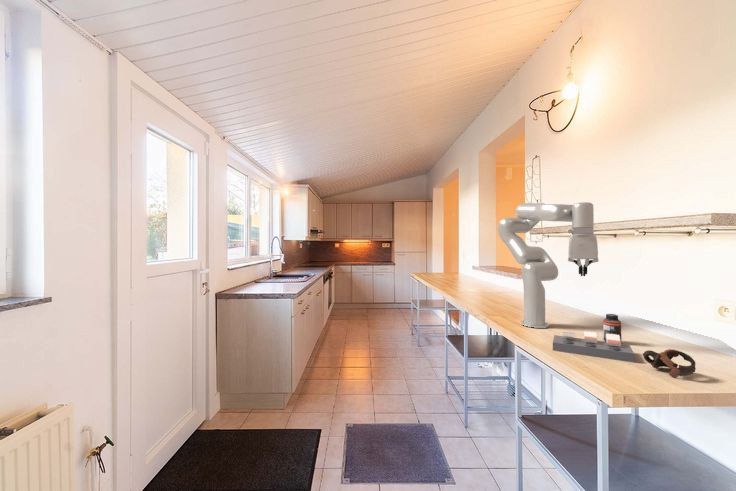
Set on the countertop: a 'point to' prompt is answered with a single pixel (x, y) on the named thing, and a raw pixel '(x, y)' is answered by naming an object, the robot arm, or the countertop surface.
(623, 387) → the countertop surface
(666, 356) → the brown linked rings
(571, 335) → the rocker
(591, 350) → the power strip
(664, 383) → the countertop surface
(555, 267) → the robot arm
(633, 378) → the countertop surface
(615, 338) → the rocker
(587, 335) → the rocker middle
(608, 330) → the supplement bottle
